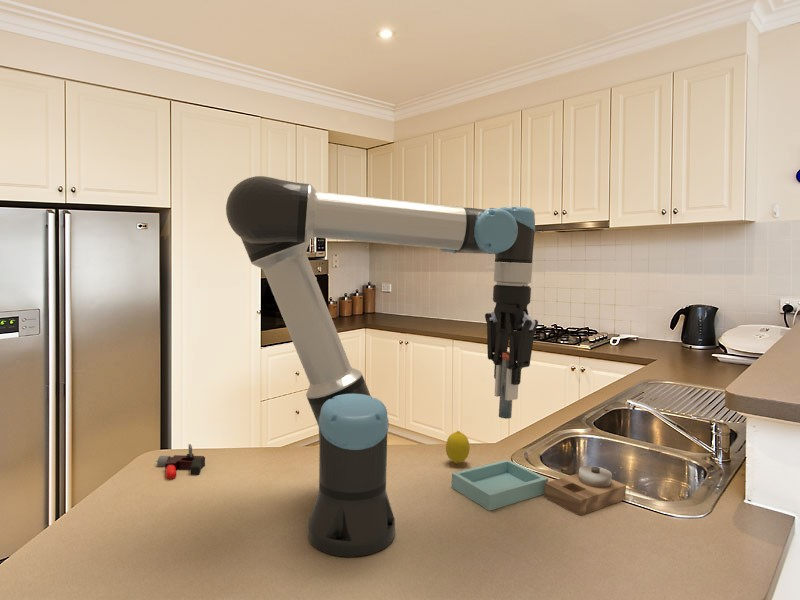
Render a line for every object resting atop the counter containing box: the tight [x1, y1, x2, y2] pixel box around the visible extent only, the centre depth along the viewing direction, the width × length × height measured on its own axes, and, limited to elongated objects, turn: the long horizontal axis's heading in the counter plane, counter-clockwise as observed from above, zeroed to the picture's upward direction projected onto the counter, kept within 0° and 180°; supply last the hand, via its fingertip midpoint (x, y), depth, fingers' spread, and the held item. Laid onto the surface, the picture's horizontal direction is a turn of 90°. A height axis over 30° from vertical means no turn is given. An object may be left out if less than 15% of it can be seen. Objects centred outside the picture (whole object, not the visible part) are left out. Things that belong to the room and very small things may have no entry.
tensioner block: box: [543, 465, 627, 516], centre depth 110 cm, size 14×9×6 cm, turn 122°
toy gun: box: [155, 443, 206, 480], centre depth 118 cm, size 10×12×5 cm
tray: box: [451, 459, 549, 511], centre depth 113 cm, size 16×12×3 cm
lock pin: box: [498, 350, 513, 420], centre depth 110 cm, size 3×3×14 cm
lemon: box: [445, 430, 470, 465], centre depth 126 cm, size 6×6×8 cm
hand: (505, 397), depth 111 cm, fingers closed on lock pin, 2 cm apart
